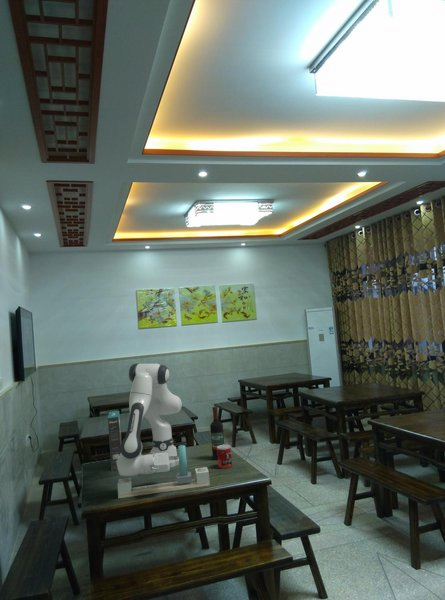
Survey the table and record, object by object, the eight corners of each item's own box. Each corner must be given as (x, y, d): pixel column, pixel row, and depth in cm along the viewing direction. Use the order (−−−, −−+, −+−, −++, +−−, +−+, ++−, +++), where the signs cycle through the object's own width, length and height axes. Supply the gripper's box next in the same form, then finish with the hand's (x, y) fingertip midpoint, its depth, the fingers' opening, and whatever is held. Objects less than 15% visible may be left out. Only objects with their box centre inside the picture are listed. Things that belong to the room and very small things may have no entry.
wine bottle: (227, 456, 268) (222, 405, 270) (223, 460, 261) (218, 408, 263) (215, 456, 271) (211, 405, 273) (210, 460, 264) (206, 408, 265)
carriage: (177, 479, 227) (174, 445, 228) (190, 477, 228) (188, 443, 229) (177, 484, 220) (175, 448, 221) (192, 482, 221) (189, 447, 222)
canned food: (222, 469, 244) (220, 449, 245) (216, 466, 251) (214, 446, 252) (234, 466, 248) (233, 446, 248) (228, 463, 255) (226, 443, 255)
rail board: (119, 492, 223) (118, 477, 223) (207, 480, 230) (206, 465, 230) (118, 498, 215) (117, 483, 216) (209, 485, 222) (208, 470, 222)
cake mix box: (122, 469, 261) (118, 416, 263) (111, 470, 260) (107, 418, 262) (122, 459, 283) (119, 410, 285) (112, 460, 282) (109, 411, 283)
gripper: (149, 463, 212) (178, 459, 214) (149, 451, 232) (176, 448, 235) (150, 477, 212) (180, 473, 214) (150, 464, 232) (177, 460, 234)
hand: (178, 460), depth 225 cm, fingers open, 8 cm apart
